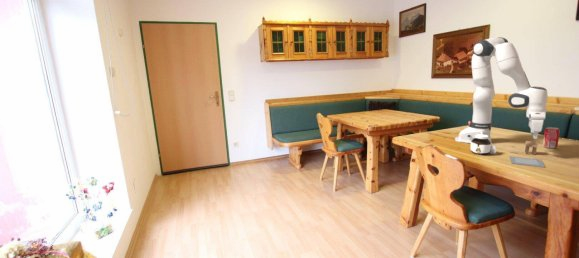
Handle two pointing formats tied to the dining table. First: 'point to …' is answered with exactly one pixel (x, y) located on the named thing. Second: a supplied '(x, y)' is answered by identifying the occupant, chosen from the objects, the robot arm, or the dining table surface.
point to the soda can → (551, 137)
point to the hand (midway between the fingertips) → (533, 136)
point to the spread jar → (482, 145)
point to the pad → (526, 161)
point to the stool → (531, 144)
